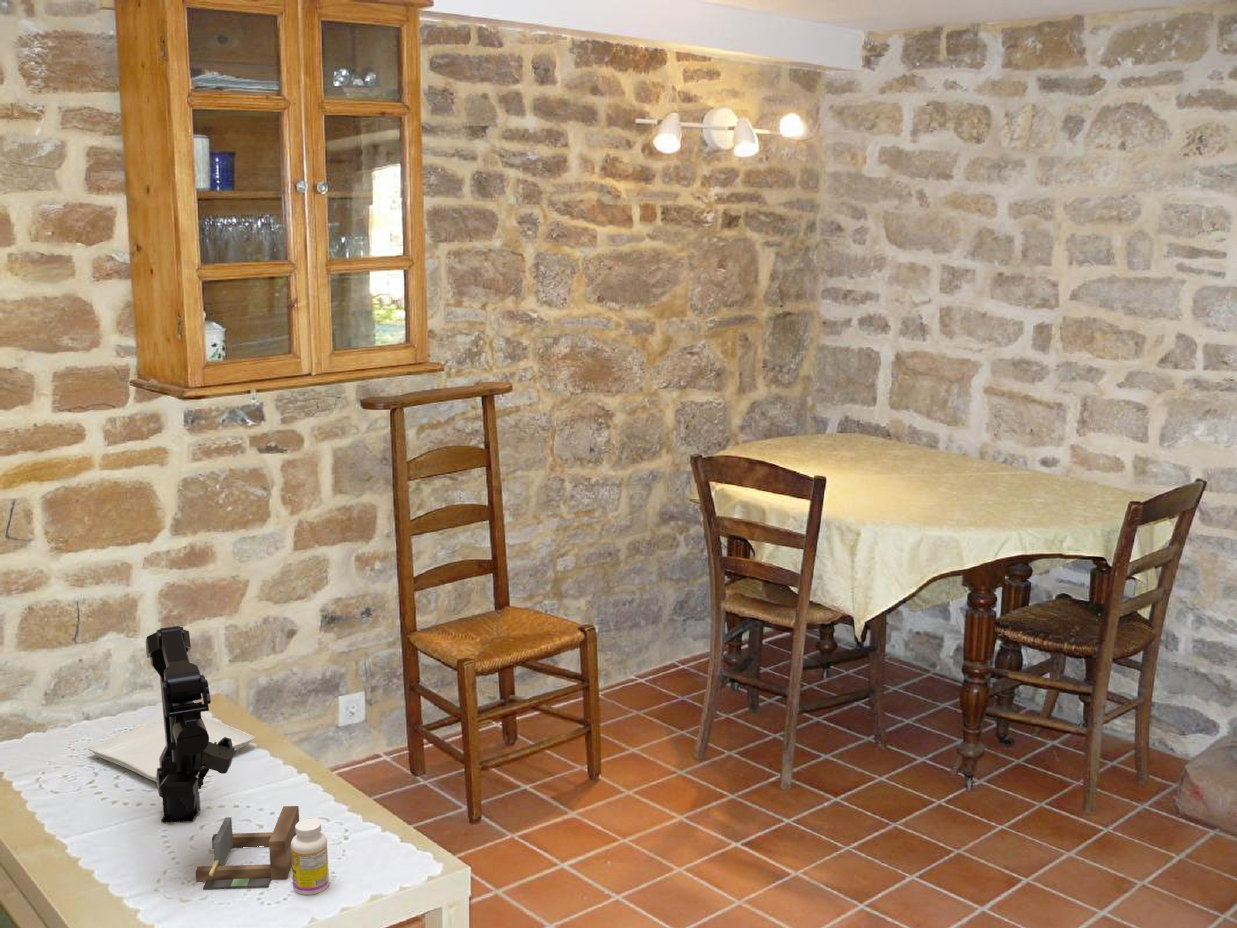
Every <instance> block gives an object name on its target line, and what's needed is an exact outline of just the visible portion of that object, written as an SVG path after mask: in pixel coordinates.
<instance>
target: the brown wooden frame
mask: <svg viewBox="0 0 1237 928" xmlns="http://www.w3.org/2000/svg"><path fill="white" fill-rule="evenodd" d="M299 808H300V807H299V805H287V806H286V805H284V806H283V807H282V809H281V811H280V814H279V816H278V818H277V822H276V823H275V826H274V828H273V831H272V832H268V831H267V832H244V833H243V832H242V833H241V832H240V833H237V832H235V833H233V832H232V836H233V846H232V848H231V849H244V848H243V847H257V846H258V847H259V846H264V847H263V848H269V849H268V850H269V864H268V863H267V864H264V863H262V864H238V865H237V864H236V865H234V864H233V865H224V866H217V867H216V870H215V872H214V874H213V876H209V873H210V871H211V868H212V866H213V865H206V866H205V865H203V866H202V865H201V866H197V867H196V868H195V883H204V885H203V887H202V890H203V891H209V890H212V891H213V890H240V889H241V890H243V889H247V890H248V889H268V888H269V886H270V883H271V881H278V880H280V881H281V880H287V881H288V877H289V875H290V872H291V871H292V858H291V841H292V839H293V838H294V836H296V835H297V834H296V832H295V825H296V824H297V823H298V822H299V821H300V810H299ZM216 835H217V833H214V834H213V835H212V837H211V846H212V850H213V841H214V839H215V837H216Z"/></svg>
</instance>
